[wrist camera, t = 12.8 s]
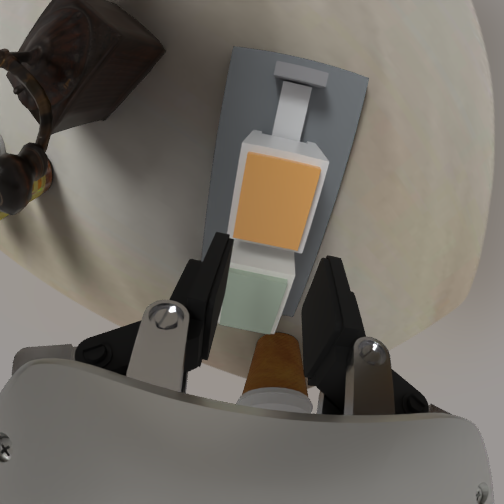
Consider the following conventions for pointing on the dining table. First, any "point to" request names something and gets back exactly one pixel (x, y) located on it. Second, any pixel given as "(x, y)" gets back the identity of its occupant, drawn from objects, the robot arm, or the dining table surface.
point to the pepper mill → (71, 79)
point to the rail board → (286, 126)
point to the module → (276, 191)
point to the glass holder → (2, 146)
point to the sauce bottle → (38, 187)
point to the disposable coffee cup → (276, 376)
